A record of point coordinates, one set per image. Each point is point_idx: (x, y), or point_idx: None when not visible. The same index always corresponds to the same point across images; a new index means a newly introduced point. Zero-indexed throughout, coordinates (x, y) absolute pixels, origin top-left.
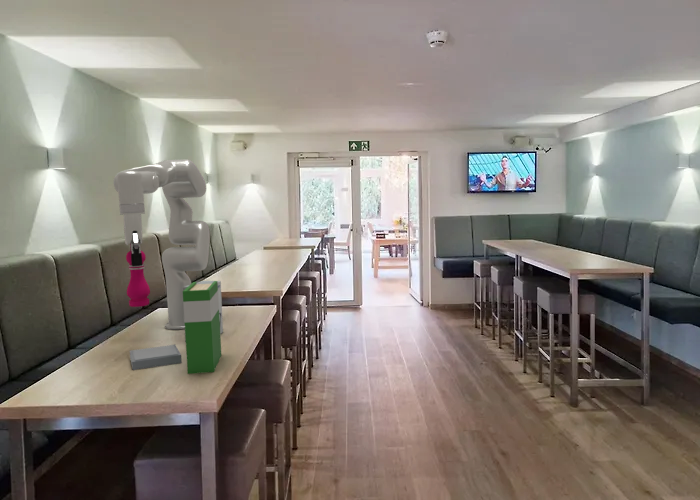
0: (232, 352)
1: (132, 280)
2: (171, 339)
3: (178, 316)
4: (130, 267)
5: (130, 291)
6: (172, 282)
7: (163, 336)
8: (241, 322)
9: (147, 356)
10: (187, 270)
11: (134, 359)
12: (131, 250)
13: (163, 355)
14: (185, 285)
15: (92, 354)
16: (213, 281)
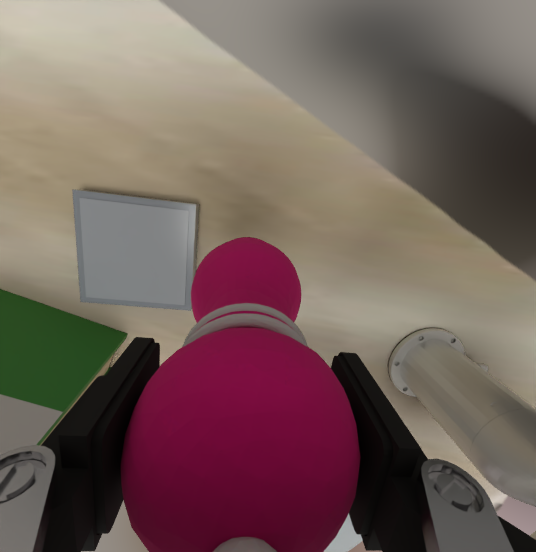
0: None
1: (218, 288)
2: (314, 318)
3: (419, 370)
4: (211, 320)
5: (210, 254)
6: (512, 443)
7: (357, 309)
8: None
9: (100, 231)
10: (531, 534)
11: (94, 199)
12: (13, 509)
13: (89, 266)
14: (478, 464)
15: (300, 124)
16: (330, 548)
